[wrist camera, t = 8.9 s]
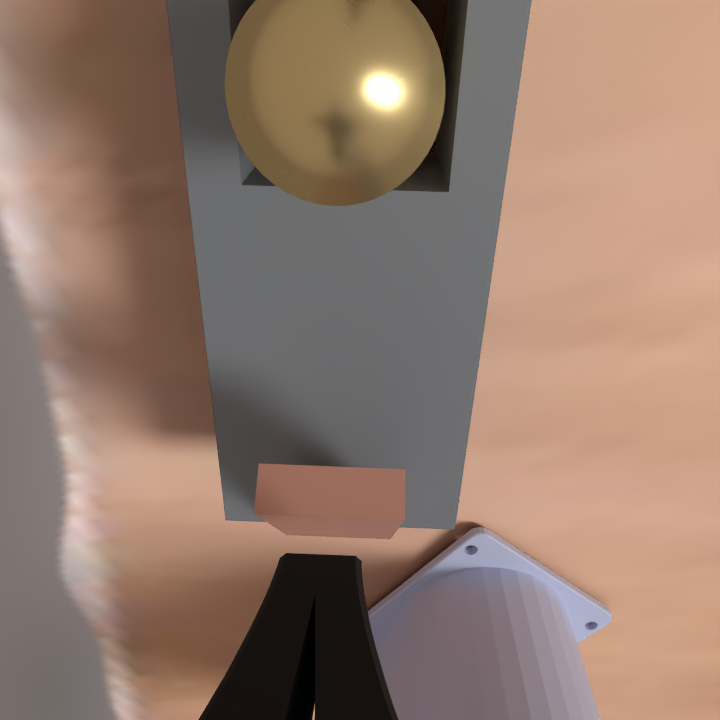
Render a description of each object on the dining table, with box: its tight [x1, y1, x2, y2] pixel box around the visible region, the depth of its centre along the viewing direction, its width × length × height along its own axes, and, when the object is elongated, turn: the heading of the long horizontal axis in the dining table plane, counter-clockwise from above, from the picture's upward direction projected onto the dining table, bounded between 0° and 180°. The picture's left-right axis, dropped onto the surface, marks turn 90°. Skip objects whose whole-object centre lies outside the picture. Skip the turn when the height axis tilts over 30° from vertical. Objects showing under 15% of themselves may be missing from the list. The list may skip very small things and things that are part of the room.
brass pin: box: [225, 0, 445, 206], centre depth 12 cm, size 3×3×8 cm
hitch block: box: [166, 0, 531, 529], centre depth 16 cm, size 16×7×4 cm, turn 178°
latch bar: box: [254, 464, 406, 539], centre depth 15 cm, size 6×3×1 cm
